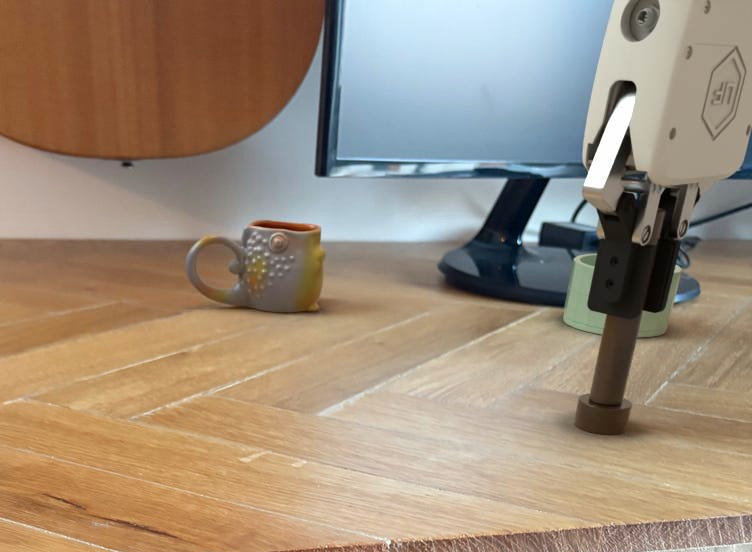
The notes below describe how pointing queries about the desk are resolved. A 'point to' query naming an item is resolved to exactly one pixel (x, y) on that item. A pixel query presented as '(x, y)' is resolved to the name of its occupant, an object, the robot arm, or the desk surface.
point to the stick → (614, 367)
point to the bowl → (594, 321)
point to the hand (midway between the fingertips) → (625, 308)
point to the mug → (268, 267)
